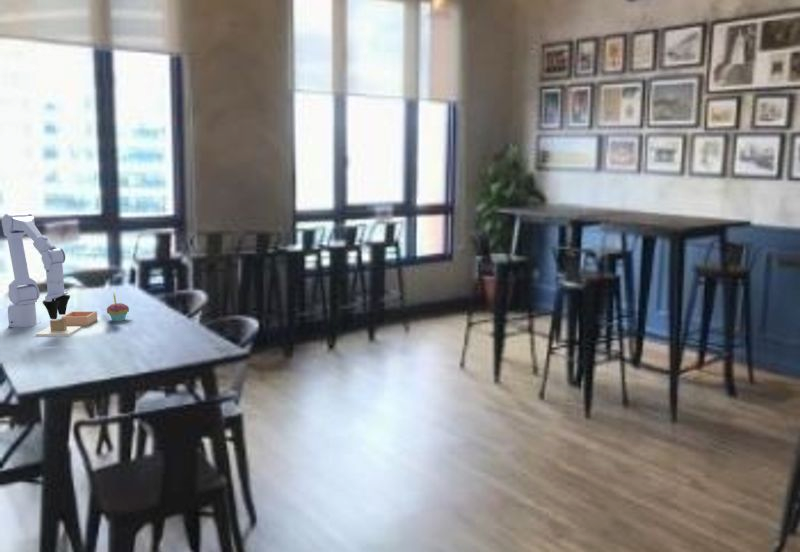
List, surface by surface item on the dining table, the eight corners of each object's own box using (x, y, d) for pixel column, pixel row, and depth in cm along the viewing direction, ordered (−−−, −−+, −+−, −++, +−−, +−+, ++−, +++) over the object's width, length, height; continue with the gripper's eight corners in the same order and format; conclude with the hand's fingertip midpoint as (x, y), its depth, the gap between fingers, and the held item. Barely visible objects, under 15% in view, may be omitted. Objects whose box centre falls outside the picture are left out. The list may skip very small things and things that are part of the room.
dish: (62, 327, 293) (61, 316, 292) (72, 321, 303) (71, 311, 302) (88, 326, 293) (87, 316, 293) (97, 321, 303) (96, 311, 302)
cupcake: (121, 323, 299) (120, 294, 297) (102, 322, 301) (100, 293, 299) (133, 318, 308) (132, 290, 306) (114, 317, 309) (113, 289, 307)
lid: (35, 336, 277) (34, 323, 276) (49, 328, 289) (48, 316, 288) (68, 336, 277) (67, 323, 277) (81, 328, 289) (80, 316, 288)
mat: (31, 337, 276) (31, 336, 276) (48, 328, 290) (48, 327, 290) (70, 337, 277) (70, 336, 276) (85, 328, 290) (84, 327, 290)
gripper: (57, 284, 273) (60, 321, 275) (73, 277, 287) (76, 312, 289) (38, 284, 273) (41, 321, 275) (55, 277, 287) (57, 312, 289)
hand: (58, 316), depth 282 cm, fingers open, 7 cm apart
